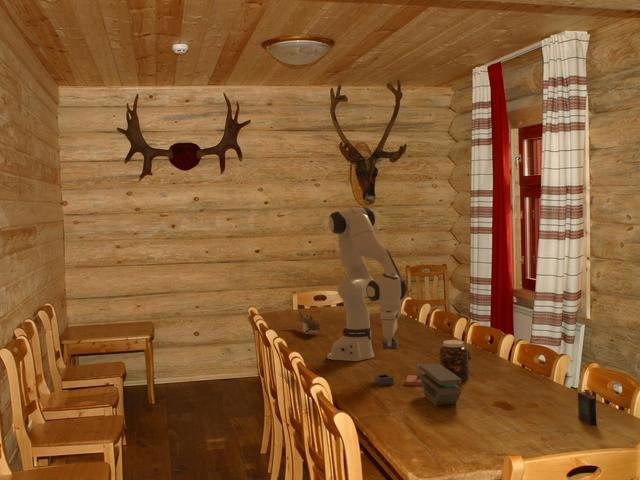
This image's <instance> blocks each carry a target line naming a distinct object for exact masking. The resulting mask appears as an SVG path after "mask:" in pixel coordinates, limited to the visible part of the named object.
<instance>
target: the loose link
mask: <svg viewBox="0 0 640 480" xmlns="http://www.w3.org/2000/svg"><path fill="white" fill-rule="evenodd" d="M373 379H374V381H373V382H374V384H375V385H377V386H379V387H384V386H390V385H391V386H392V385H394V376H392V375H391V374H389V373H384V374H376V375H373Z"/></svg>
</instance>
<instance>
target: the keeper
mask: <svg viewBox="0 0 640 480" xmlns="http://www.w3.org/2000/svg"><path fill="white" fill-rule="evenodd" d="M419 365H420V364H416V367H415V368H416V374H415V375H412V374H411V375H410V374H409V375H407V377H406V380H405V381H404V382H405V384H404V385H405V386H420V387H423V386H422V383H421V376H420V374H422V373H421V372H422V370H420V369H419Z"/></svg>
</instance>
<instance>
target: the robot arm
mask: <svg viewBox="0 0 640 480" xmlns="http://www.w3.org/2000/svg"><path fill="white" fill-rule="evenodd" d="M375 224H376V216H375V212H374V210H373V209H372V208H371V207H366V206H362V207H353V208H348V209H343V210H339V211H338V210H337V211H334V212H332V213H330V214H329V216H328V226H329V229H330V231H331V232H332V233H333V234H336V235H337V237H338V238H337V239H338V241H337V242H338V251H339V256H340V264H341V266H342V268H344V270H345V272H346V274H347V277H346V278H344V279H343V280H342V281H341V282H339V284H338V286H337V293H338V296H339V297H340V298H341V300H342V303H343V306H344V309H345V316H346V317H345V318H346V326H344V327H343V329H342V336H341V337H340V338H339V339H337V340H336V341H335V342H334V343H333V345H332V347H331V352H329V353H328V354H327V356H326V358H327V359H328V360H329V359H331V361H332V360H334V361H349V362H359V361H364V360H369V359H372V358H375V353H374V350H373V345H372V327H371V324H370V323H371V322H370V310H369V309H368V307H367V305H366V302H365V297H367V298H368V299H369V300H370V301H372V302H380V303H379V308H380V309H379V313H380V314H379V316H380V319H381V323H382V324H381V326H382V334H383V338H384V339H387V346H391V345H392V339H395V332H396V331H397V329H398V321H399V317H401V316H402V303H401V301H402V300H403V299H404V298H405V297H406V295H407V292H408V284H407V282H405V280H404V278H403V277H402V275H401V273H400V271H399V269H398V268H397V265H396V263H395V261H394V259H393V256H392V255H391V253H390V251H389V249H388V248H387V247H386V246H385V245H383V243H382V242H381V241H380V239H379V238H378V237H377V235H376V231H375V228H374V226H375ZM365 258H369V259H371V260H374V261H377V262H378V263H379V264H380V265H381V266H382V269H383V271H384V273H382V274H381V275H380V277H378V278H375V279H374V278H373V277H372V276H371V274H370V273H369V272H370V271H369V270H368V268H367V264H366V261H365Z"/></svg>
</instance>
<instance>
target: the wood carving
mask: <svg viewBox="0 0 640 480" xmlns="http://www.w3.org/2000/svg"><path fill="white" fill-rule="evenodd" d="M297 312H298V316H299V317H298V318H299V320H298V321H299V323H300V322H302V332H303V331H304V332H306V333H308V332H316V333H317V330H318V331H320V332H321V331H322V330H321V327H320V323H319V322H318V321H317V320H315V319H313V317H312V315H311V314H309V315H308V314H306V315H304V314H303V312H302V311H301V310H300V309H298V310H297Z"/></svg>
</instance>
